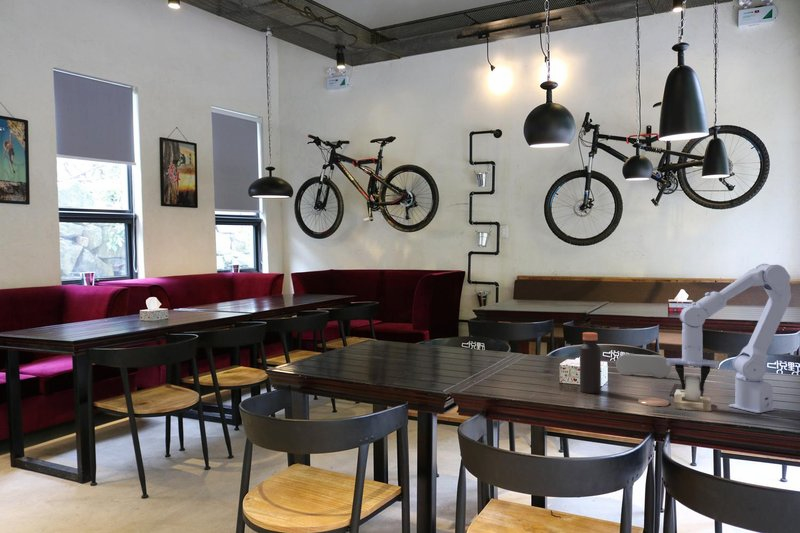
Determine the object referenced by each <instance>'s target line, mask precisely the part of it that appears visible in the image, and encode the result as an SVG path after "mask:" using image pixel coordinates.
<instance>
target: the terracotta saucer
mask: <svg viewBox="0 0 800 533" xmlns="http://www.w3.org/2000/svg"><path fill="white" fill-rule="evenodd" d="M637 403H638V404H641V405H643V406H647V405H648V407H657V406H661V407H666V406H669V404H670V401H669V400H667V399H664V398H659V397H652V396H651V397H639V398H638V399H637Z"/></svg>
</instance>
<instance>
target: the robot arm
mask: <svg viewBox="0 0 800 533" xmlns="http://www.w3.org/2000/svg"><path fill="white" fill-rule="evenodd" d="M791 279H792V278H791V275H790V274H789V272H788V271H787V270H786V268H785V267H784V266H782V265H780V264H769V263H761V264H758V265H757V266H755V268H752V269H749V270H748V271H747V272H745V273H744V274H743V275H741V276H739V277H738V278H737V279H735V280H734V281H732V282H731V283H730V284H729V285H727V286H725V287H724V288H723V289H721V290H720V291H711V292H709V291H707V292H705V293H704V297H702V298H700V299H698V300H697V301H693V302H692V303H691V305H690V306H686V307H684V308H682V309H681V312H680V314H679V316H678V317H679V320H680V322H682V323H681V325H682V329H681V358H680V357H679V358H677V357H676V358H675V357H674V358H671V357H669V358H667V357H666V358H667V365H669V366H670V365H671V366H674V369H675V371H676V373H677V375H678V378H679V380H680V383H681V384H682V390H685V367H700V391H702V392H704V386H705V383H706V380H707V378H708V376H709V373H710V372H711V368H712V369H713V368H714V369H719V368H720V361H719V360H709V359H704V358H703V356H704V355H703V346H704V344H703V336H704V335H703V325H704V324H705V321H706V319H709V318H710V317H712V316H713V315H714V314H716V313H718V312H719V311H721V310H723V309H724V308H725V307H726V305H727V301H729V300H730V299H732V298H733V297H736V296H737V295H739V294H741V293H742V292H744V291H746V290H747V289H749V288H750V287H762V288H763V289H764V291H765V292H766V294H767V296H768V299H767V301H766V303H765V306H764V309H763V311H762V313H761V315H760V318H759V319H758V321H757V324H756V326H755V328H754V330H753V332H752V335H751V337H750V339H749V342H748V343H747V345H746V346H744V347H743V348H742V349H741V351H740V353H739V354H738V355H736V357H734V359H733V361H732V367H733V369H734V371H735V372H736V374H735V378H734V381H735V382H734V383H735V384H734V385H735V386H734V393H735V395H734V400H735V401H734V403H731V404H728V407H731V408H735V409H739V410H743V411H747V412H752V413H755V414H760V413H764V412H765V413H766V412H771V411H775V408H774V407H773V404H774V402H773V399H774V398H773V394H774V393H773V391H774V390H773V386H772V384H771V383H770V382H766V381H764V380H763V377H764V376H765V375H766V372H767V370H766V369H767V368H766V364H767V362H768V354H767V352H768V349H769V347H770V346H771V343H772V342H773V339H774V337H775V334H776V332H777V330H778V328H779V326H780V323H781V321H782V319H783V317H784V315H785V312H786V311H787V309H788V306H789V304H790V302H791V300H792V293H791V284H790V281H791Z"/></svg>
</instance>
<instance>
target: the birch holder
mask: <svg viewBox="0 0 800 533" xmlns="http://www.w3.org/2000/svg"><path fill="white" fill-rule="evenodd" d="M673 398H674V400H673V402H674V403H673V409H674V408H675V409H676V410H685V409H686V411H687V410H688V411H697V410H698V411H697V412H700V411H701V412H708V411H711V412H712V403H711V398H710V397H709V396H701V397H700V400H698V401H692V400H687V399H685V395H675V396H674V397H673Z"/></svg>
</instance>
